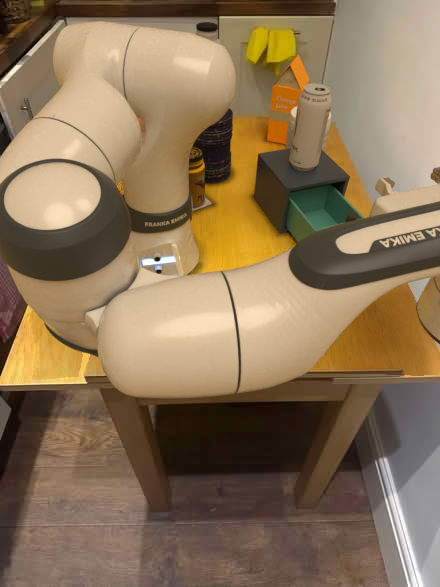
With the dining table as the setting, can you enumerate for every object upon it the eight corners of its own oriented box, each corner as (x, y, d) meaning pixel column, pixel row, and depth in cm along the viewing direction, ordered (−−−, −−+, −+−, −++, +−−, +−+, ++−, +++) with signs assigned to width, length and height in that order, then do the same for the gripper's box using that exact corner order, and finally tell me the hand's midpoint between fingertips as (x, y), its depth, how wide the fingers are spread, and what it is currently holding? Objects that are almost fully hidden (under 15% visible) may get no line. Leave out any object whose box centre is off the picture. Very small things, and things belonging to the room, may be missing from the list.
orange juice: (300, 132, 117) (313, 55, 103) (293, 145, 112) (306, 66, 97) (274, 127, 119) (283, 51, 104) (265, 140, 113) (274, 62, 99)
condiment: (212, 204, 92) (213, 155, 84) (179, 216, 89) (176, 166, 80) (195, 188, 97) (194, 140, 88) (164, 199, 93) (159, 150, 84)
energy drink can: (289, 156, 86) (300, 80, 75) (317, 158, 86) (333, 83, 75) (287, 170, 82) (299, 93, 71) (317, 173, 82) (334, 96, 70)
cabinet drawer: (365, 255, 80) (382, 211, 73) (316, 267, 78) (328, 223, 70) (324, 208, 90) (335, 166, 83) (279, 218, 88) (286, 175, 80)
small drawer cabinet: (337, 220, 89) (350, 176, 81) (279, 233, 86) (287, 188, 78) (306, 186, 98) (315, 143, 90) (253, 197, 95) (258, 153, 87)
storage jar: (191, 162, 105) (189, 103, 94) (229, 162, 105) (232, 103, 94) (191, 184, 98) (188, 122, 87) (231, 183, 98) (234, 123, 87)
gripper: (401, 275, 48) (339, 209, 57) (530, 239, 53) (455, 183, 62) (421, 233, 44) (351, 168, 52) (560, 198, 49) (475, 144, 57)
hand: (408, 176), depth 57 cm, fingers open, 8 cm apart
